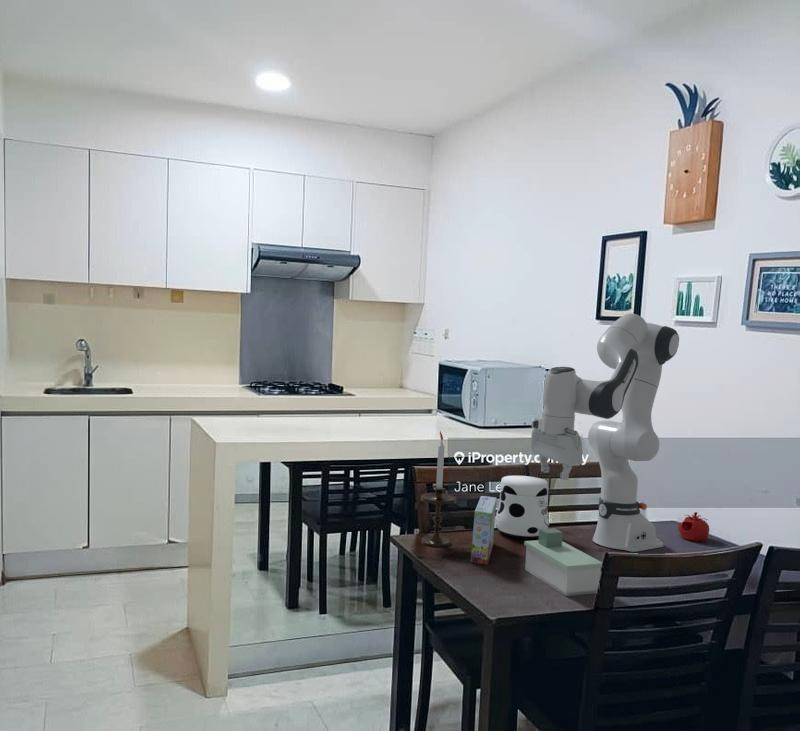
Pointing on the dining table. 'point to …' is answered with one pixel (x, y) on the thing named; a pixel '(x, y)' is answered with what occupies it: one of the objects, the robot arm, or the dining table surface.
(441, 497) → the candlestick
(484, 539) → the snack box
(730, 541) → the dining table surface
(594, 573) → the tub
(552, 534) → the lid
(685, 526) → the pomegranate
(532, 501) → the spotted dog treat jar
